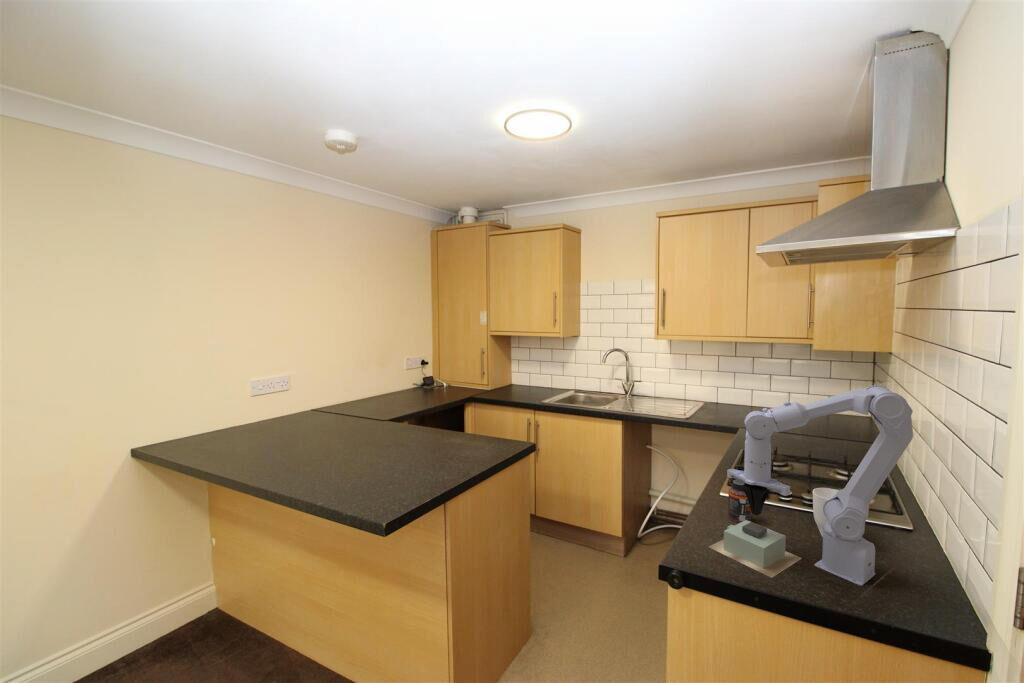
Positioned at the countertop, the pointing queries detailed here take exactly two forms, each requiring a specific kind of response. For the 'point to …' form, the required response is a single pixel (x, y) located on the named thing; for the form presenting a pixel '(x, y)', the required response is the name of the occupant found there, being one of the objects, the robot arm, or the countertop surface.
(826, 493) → the mug
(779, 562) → the board
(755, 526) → the grey square plunger
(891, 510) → the countertop surface
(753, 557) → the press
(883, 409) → the robot arm
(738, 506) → the supplement bottle
